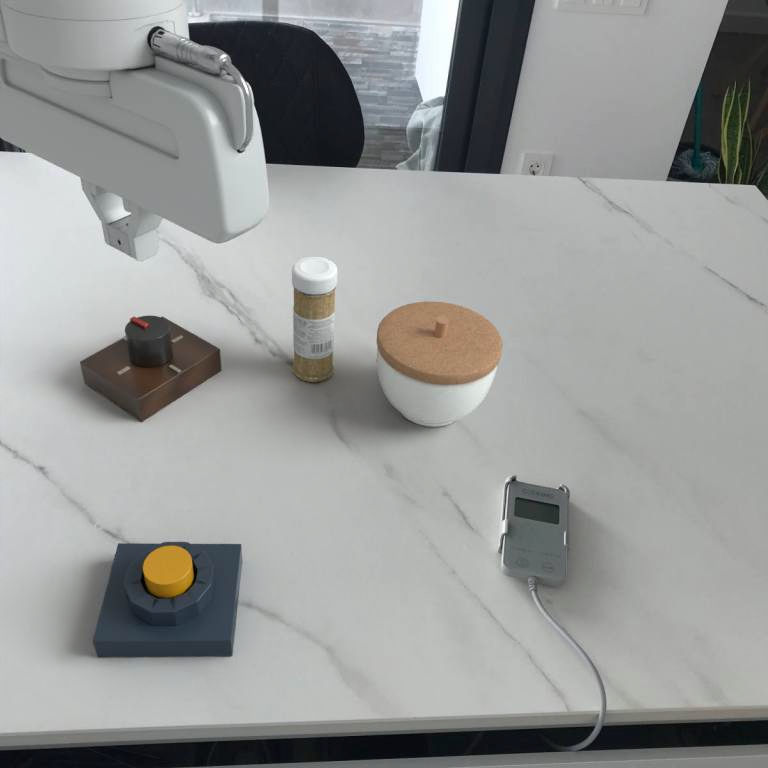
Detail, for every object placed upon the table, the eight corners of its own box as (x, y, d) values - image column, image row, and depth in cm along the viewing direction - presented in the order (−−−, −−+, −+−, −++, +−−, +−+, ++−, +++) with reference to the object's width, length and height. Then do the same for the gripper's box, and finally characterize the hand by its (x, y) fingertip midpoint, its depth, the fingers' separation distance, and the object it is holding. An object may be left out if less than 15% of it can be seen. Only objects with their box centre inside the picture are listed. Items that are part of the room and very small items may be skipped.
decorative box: (503, 440, 80) (524, 355, 73) (384, 450, 77) (393, 363, 70) (469, 364, 89) (484, 282, 82) (361, 371, 86) (367, 287, 79)
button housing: (97, 657, 58) (88, 627, 55) (121, 559, 65) (114, 528, 62) (232, 656, 59) (229, 626, 56) (242, 559, 66) (240, 529, 63)
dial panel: (142, 422, 78) (138, 398, 76) (84, 384, 81) (79, 360, 79) (221, 370, 85) (219, 347, 83) (165, 337, 89) (162, 314, 86)
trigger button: (141, 598, 58) (138, 584, 57) (150, 559, 61) (147, 545, 60) (190, 598, 58) (188, 584, 57) (196, 559, 61) (194, 545, 60)
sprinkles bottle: (330, 357, 88) (334, 253, 79) (336, 382, 85) (341, 277, 76) (289, 359, 87) (289, 255, 79) (294, 385, 84) (294, 279, 75)
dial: (181, 352, 82) (178, 323, 79) (150, 373, 79) (146, 343, 76) (151, 337, 83) (147, 307, 81) (120, 356, 80) (114, 326, 78)
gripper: (295, 45, 36) (295, 292, 45) (28, -41, 45) (72, 181, 54) (195, 76, 32) (216, 341, 41) (-78, -26, 41) (-12, 212, 50)
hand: (132, 250), depth 48 cm, fingers closed
